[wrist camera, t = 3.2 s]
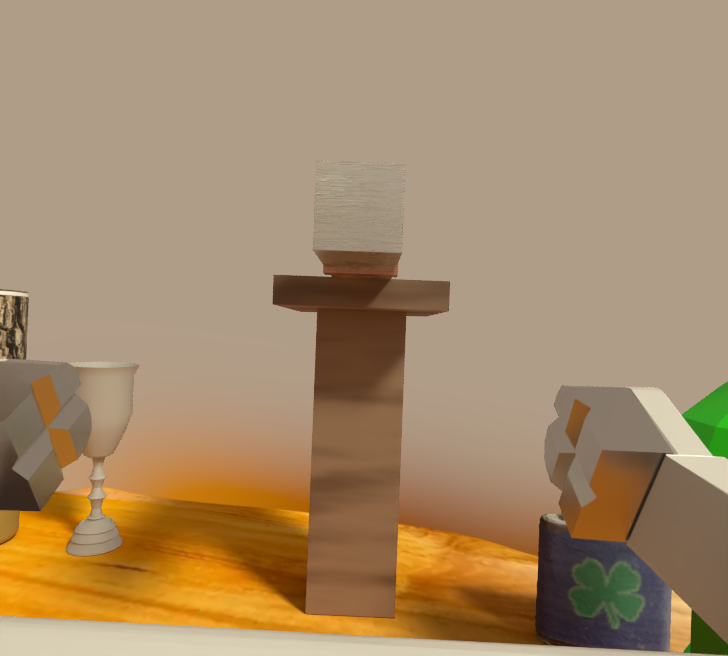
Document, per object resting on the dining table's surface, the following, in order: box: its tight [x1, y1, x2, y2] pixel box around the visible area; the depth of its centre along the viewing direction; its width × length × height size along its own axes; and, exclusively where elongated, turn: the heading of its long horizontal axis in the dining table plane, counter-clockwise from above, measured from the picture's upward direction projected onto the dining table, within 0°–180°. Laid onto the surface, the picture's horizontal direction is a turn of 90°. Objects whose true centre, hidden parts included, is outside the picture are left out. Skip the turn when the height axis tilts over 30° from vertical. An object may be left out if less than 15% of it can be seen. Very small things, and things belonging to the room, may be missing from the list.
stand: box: [273, 275, 450, 618], centre depth 42 cm, size 14×12×26 cm
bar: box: [313, 161, 405, 279], centre depth 39 cm, size 32×4×4 cm, turn 179°
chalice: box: [66, 362, 139, 556], centre depth 52 cm, size 7×7×18 cm
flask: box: [535, 511, 672, 652], centre depth 38 cm, size 9×3×11 cm, turn 78°
